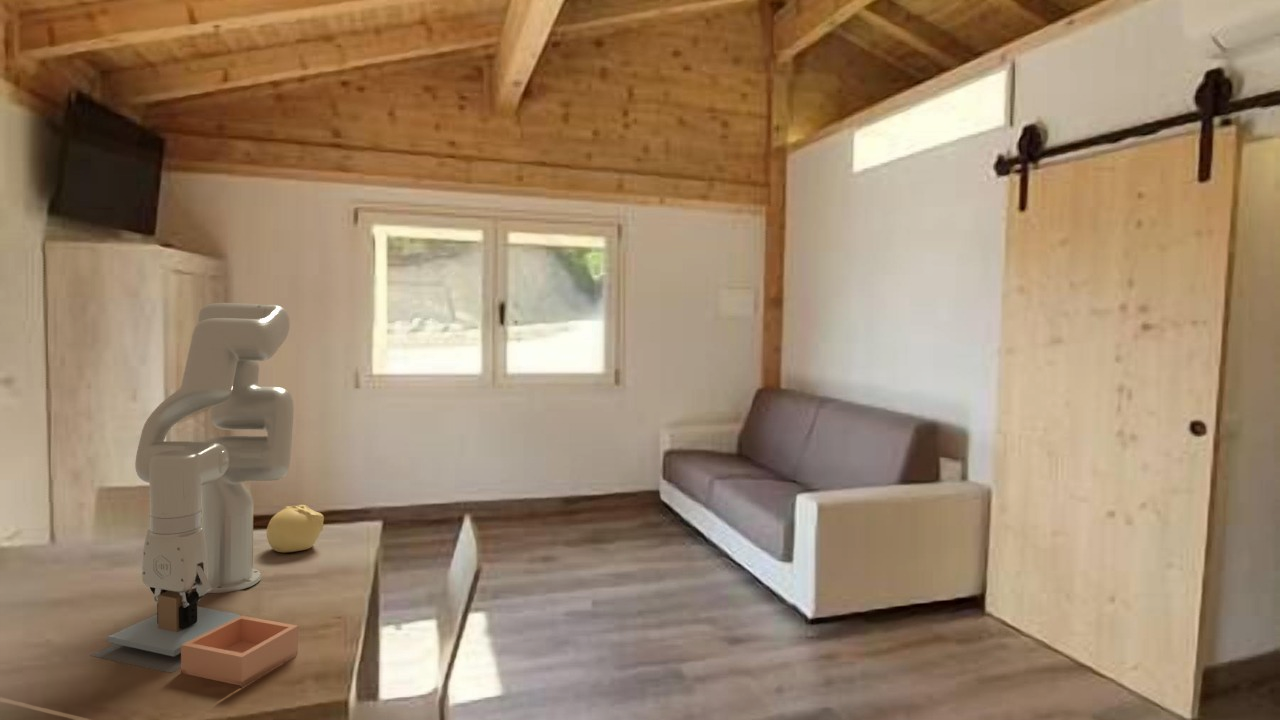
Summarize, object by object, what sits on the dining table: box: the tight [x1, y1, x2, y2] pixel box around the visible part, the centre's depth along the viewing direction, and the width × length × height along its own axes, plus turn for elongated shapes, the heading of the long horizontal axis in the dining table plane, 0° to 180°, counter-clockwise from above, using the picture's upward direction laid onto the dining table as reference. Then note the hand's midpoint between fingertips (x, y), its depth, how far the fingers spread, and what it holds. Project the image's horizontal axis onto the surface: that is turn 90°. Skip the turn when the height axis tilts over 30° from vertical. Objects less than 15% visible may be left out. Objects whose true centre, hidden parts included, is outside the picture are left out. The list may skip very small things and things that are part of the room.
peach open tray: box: [180, 615, 299, 689], centre depth 119 cm, size 12×12×5 cm
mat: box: [90, 643, 181, 674], centre depth 125 cm, size 17×17×1 cm
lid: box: [107, 590, 243, 657], centre depth 126 cm, size 14×14×7 cm
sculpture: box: [266, 504, 325, 553], centre depth 176 cm, size 11×12×11 cm
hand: (177, 622), depth 126 cm, fingers closed on lid, 4 cm apart
